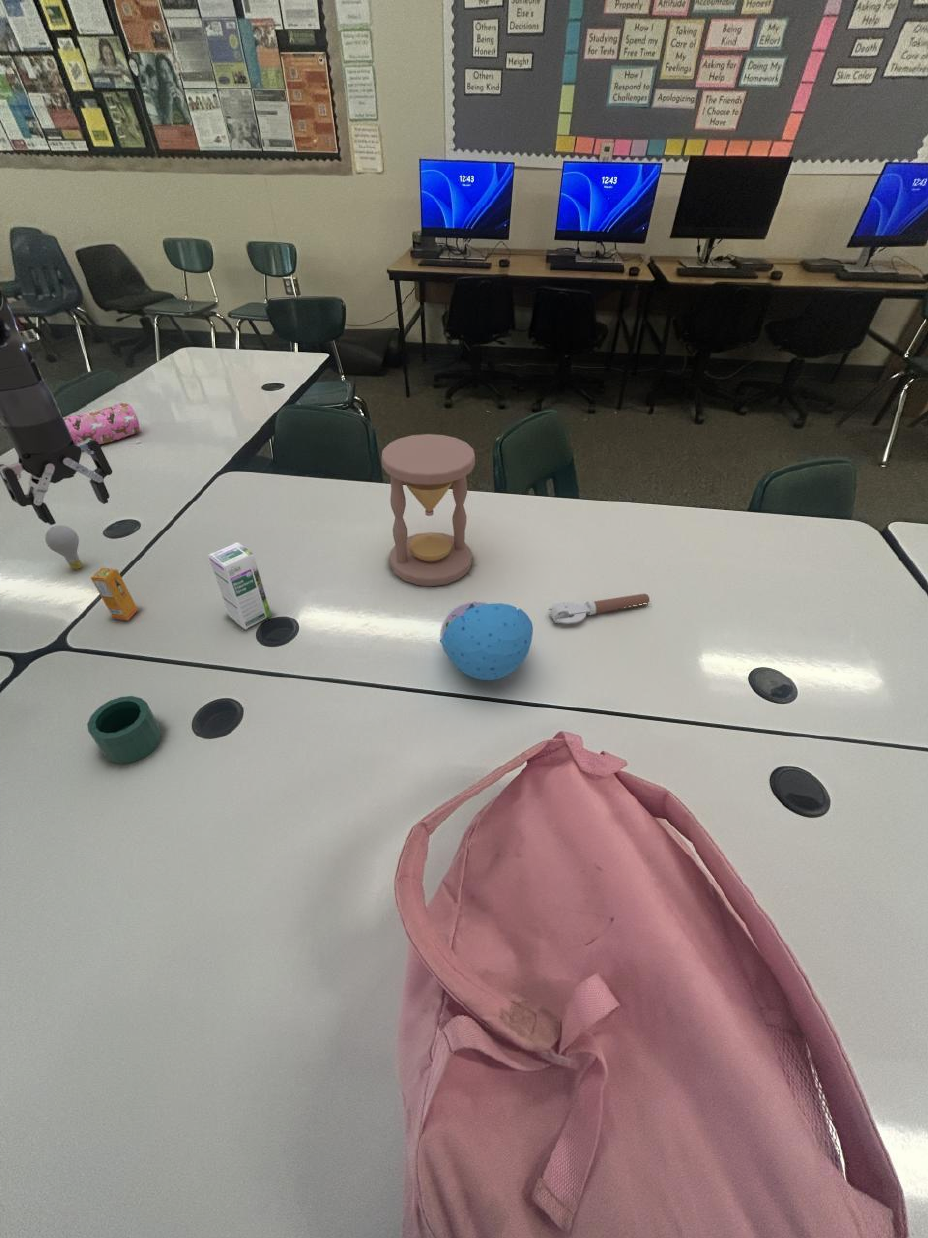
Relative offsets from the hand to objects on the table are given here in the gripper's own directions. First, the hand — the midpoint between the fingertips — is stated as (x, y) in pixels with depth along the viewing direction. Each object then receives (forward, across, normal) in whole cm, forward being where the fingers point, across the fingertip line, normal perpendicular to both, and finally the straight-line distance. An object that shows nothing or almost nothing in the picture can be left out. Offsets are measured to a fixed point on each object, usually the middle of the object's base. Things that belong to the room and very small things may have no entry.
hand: (78, 512), depth 92 cm
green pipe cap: (+22, +15, +29) cm, 39 cm away
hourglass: (+22, -49, +35) cm, 64 cm away
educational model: (+22, -31, +61) cm, 72 cm away
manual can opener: (+22, -56, +71) cm, 93 cm away
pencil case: (+22, -38, -80) cm, 91 cm away
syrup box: (+22, -14, +19) cm, 32 cm away
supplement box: (+22, 0, 0) cm, 22 cm away
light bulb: (+22, -2, -22) cm, 31 cm away
